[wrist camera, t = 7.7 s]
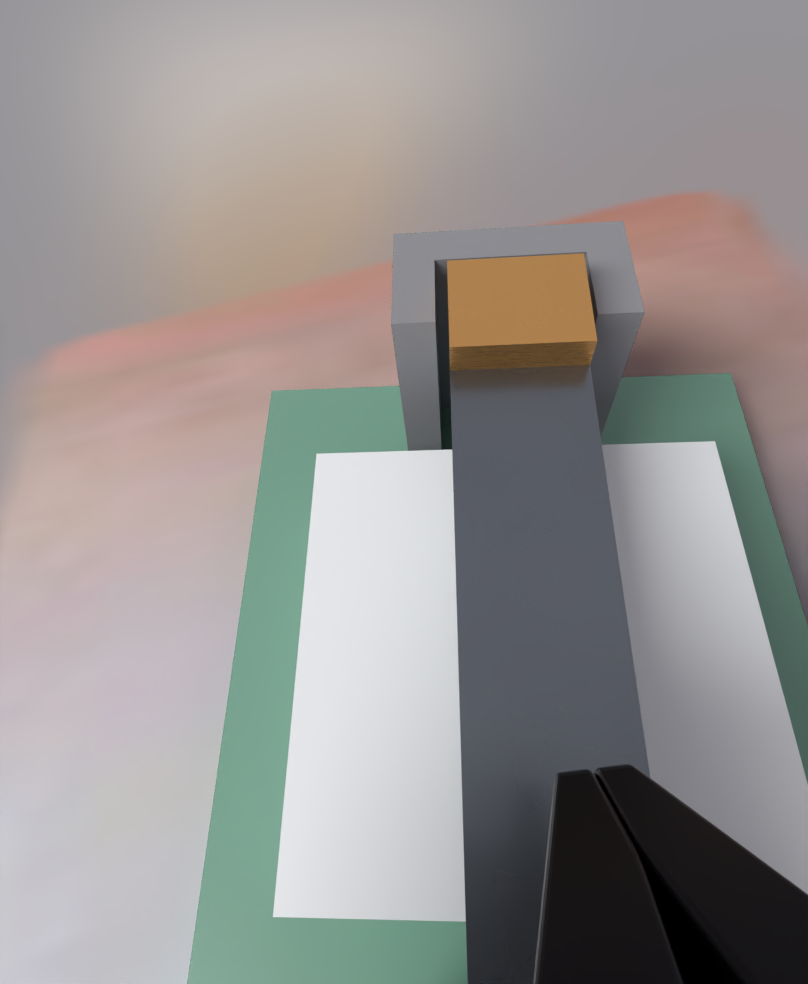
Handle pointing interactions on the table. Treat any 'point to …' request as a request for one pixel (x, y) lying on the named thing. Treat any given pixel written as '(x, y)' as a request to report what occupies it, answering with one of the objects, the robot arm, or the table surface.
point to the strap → (529, 586)
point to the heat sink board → (275, 660)
